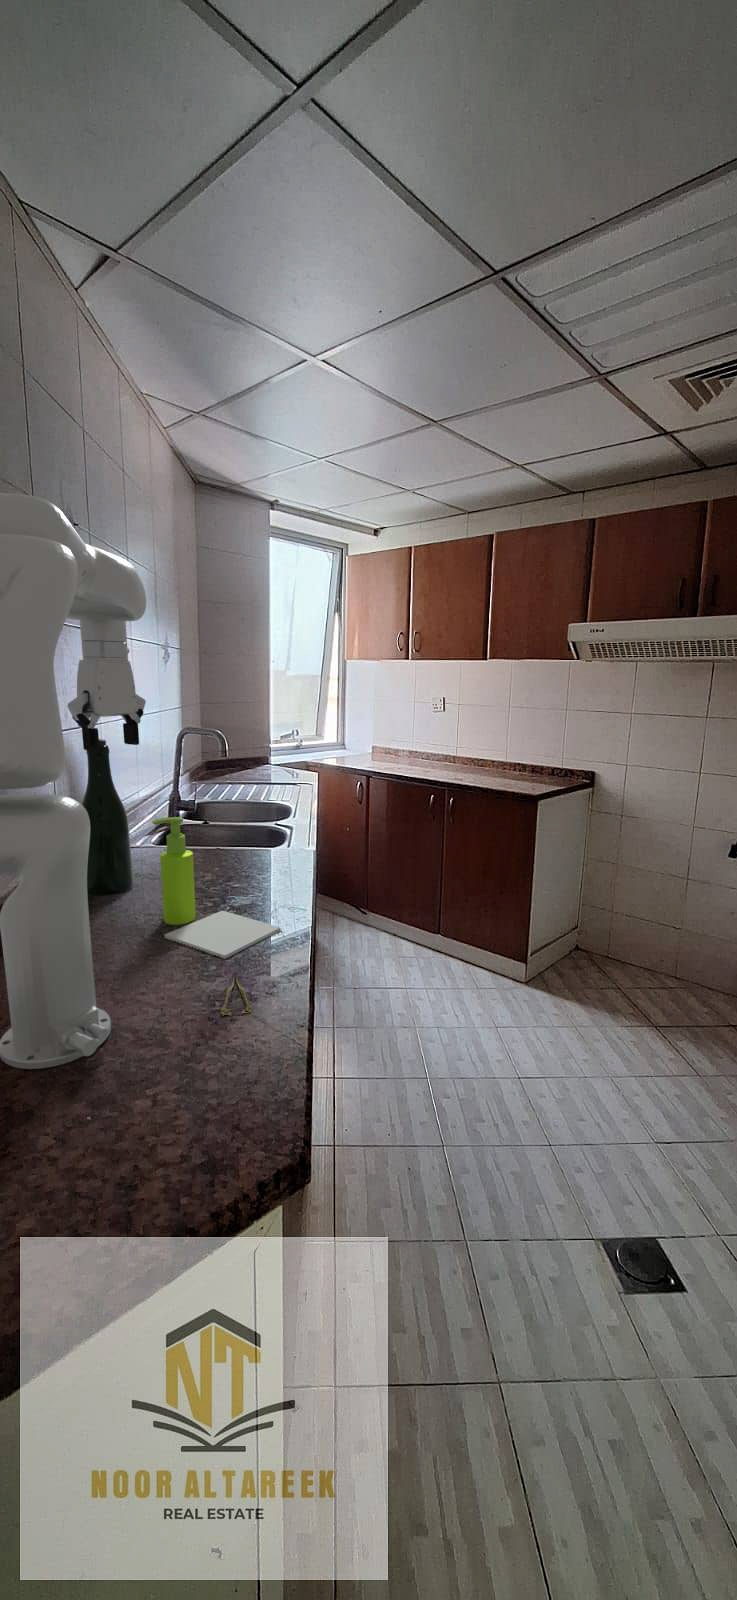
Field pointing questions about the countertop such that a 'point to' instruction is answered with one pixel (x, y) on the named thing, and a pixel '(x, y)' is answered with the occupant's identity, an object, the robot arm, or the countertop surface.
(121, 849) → the green wine bottle
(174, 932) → the grey mat
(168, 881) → the soap dispenser
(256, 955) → the countertop surface
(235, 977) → the tongs
